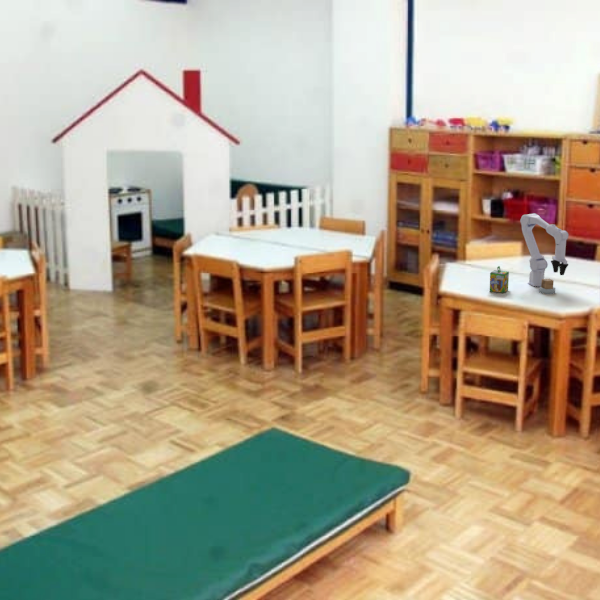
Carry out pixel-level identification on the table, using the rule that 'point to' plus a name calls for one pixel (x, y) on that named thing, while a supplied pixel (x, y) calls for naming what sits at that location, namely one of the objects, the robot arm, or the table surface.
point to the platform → (547, 290)
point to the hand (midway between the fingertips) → (558, 273)
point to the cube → (547, 283)
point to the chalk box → (499, 281)
